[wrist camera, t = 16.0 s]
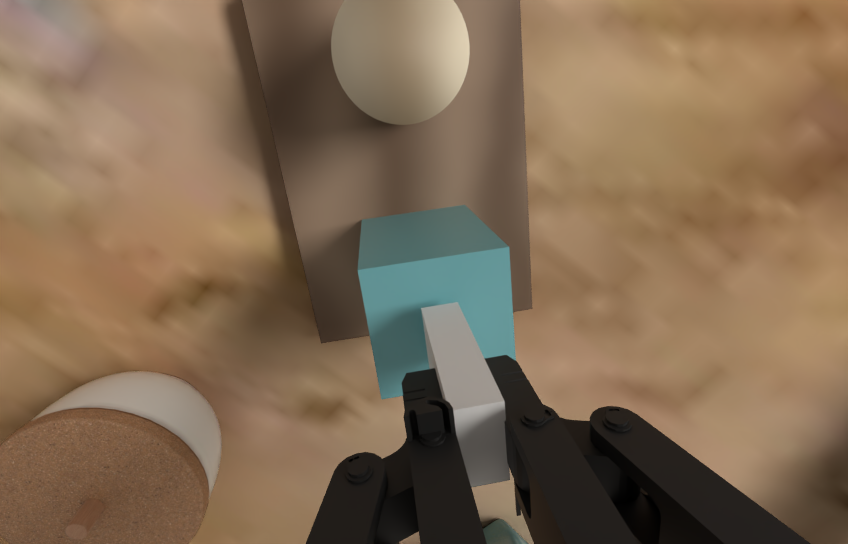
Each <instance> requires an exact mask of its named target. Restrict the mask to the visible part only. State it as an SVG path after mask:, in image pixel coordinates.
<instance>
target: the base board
mask: <svg viewBox="0 0 848 544" xmlns="http://www.w3.org/2000/svg"><path fill="white" fill-rule="evenodd" d="M343 2H344V0H242V3H243V7H244V12H245V16H246V20H247V25H248V29H249V33H250V37H251V42H252V46H253V50H254V55H255V59H256V63H257V68H258V72H259V76H260V81H261V85H262V89H263V94H264V98H265V102H266V107H267V111H268V115H269V120H270V124H271V128H272V133H273V137H274V141H275V146H276V150H277V154H278V158H279V163H280V167H281V171H282V176H283V180H284V184H285V189H286V193H287V197H288V202H289V206H290V210H291V215H292V219H293V223H294V228H295V232H296V236H297V241H298V245H299V249H300V254H301V258H302V262H303V267H304V271H305V275H306V279H307V284H308V288H309V292H310V297H311V301H312V305H313V310H314V314H315V318H316V323H317V327H318V331H319V336H320V340H321V343H326V342H332V341H338V340H344V339H350V338H356V337H362V336H369V335H370V334H369V329H368V323H367V318H366V313H365V307H364V302H363V297H362V291H361V286H360V280H359V275H358V259H359V247H360V235H361V223H362V220H363V219H370V218H377V217H384V216H391V215H398V214H405V213H411V212H418V211H425V210H432V209H439V208H446V207H453V206H459V205H466V206H467V207H468V208H469V209H470V210H471V211H472V212H473V213H474V214H475V215H476V216H477V217H478V218H479V219H480V220H481V221H482V222H484V223H485V224H486V225H487V226H488V227H489V228H490V229H491V230H492V231H493V232H494V233H495V234H496V235H497V236H498V237H499V238H500V239H501V240H502V241H504V242H505V243H506V244H507V245H508V246H509V252H510V270H511V288H512V305H513V312H515V311H522V310H528V309H532V292H531V267H530V242H529V217H528V191H527V166H526V141H525V116H524V91H523V65H522V40H521V15H520V0H454V2H455V3H456V5H457V6H458V8H459V10H460V12H461V14H462V16H463V19H464V21H465V24H466V27H467V31H468V37H469V46H470V55H469V64H468V69H467V73H466V76H465V79H464V82H463V84H462V86H461V88H460V90H459V92H458V93H457V95H456V96H455V98H454V99H453V100H452V101H451V103H450V104H449V105H448V106H447V107H446V108H445V109H444V110H442V111H441V112H440V113H438V114H437V115H435V116H434V117H432V118H430V119H428V120H425V121H422V122H420V123H415V124H409V125H397V124H390V123H385V122H383V121H380V120H377V119H375V118H373V117H371V116H369V115H368V114H366V113H365V112H363V111H362V110H361V109H360V108H358V107H357V106H356V105H355V104H354V103H353V102H352V100H351V99H350V98H349V97H348V96H347V94H346V93H345V91H344V90H343V88H342V86H341V84H340V82H339V80H338V78H337V75H336V72H335V69H334V65H333V61H332V53H331V37H332V30H333V26H334V22H335V18H336V16H337V13H338V11H339V9H340V7H341V5H342V3H343Z"/></svg>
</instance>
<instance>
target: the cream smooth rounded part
mask: <svg viewBox="0 0 848 544" xmlns="http://www.w3.org/2000/svg"><path fill="white" fill-rule="evenodd" d="M331 53H332V61H333V65H334V69H335V72H336V75H337V78H338V80H339V82H340V84H341V86H342V88H343V90H344V91H345V93H346V94H347V96H348V97H349V98H350V99H351V100H352V102H353V103H354V104H355V105H356V106H357V107H358V108H360V109H361V110H362V111H363V112H365V113H366V114H368V115H369V116H371V117H373V118H375V119H377V120H380V121H383V122H385V123H390V124H397V125H409V124H415V123H420V122H422V121H425V120H428V119H430V118H432V117H434V116H435V115H437V114H438V113H440V112H441V111H442V110H444V109H445V108H446V107H447V106H448V105H449V104H450V103H451V101H452V100H453V99H454V98H455V96H456V95H457V93H458V92H459V90H460V88H461V86H462V84H463V82H464V79H465V76H466V73H467V69H468V64H469V55H470V46H469V37H468V31H467V27H466V24H465V21H464V19H463V16H462V14H461V12H460V10H459V8H458V6H457V5H456V3H455V2H454V0H344V2H343V3H342V5H341V7H340V9H339V11H338V13H337V16H336V18H335V22H334V26H333V30H332V37H331Z"/></svg>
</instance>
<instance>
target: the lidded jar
mask: <svg viewBox="0 0 848 544" xmlns="http://www.w3.org/2000/svg"><path fill="white" fill-rule="evenodd" d="M221 450H222V439H221V430H220V425H219V422H218V419H217V417H216V414H215V413H214V411H213V409H212V407H211V405H210V404H209V402H208V401H207V400H206V398H205V397H204V396H203V395H202V394H201V393H200V392H199V391H197V390H196V389H195V388H194V387H193V386H192V385H190V384H189V383H188V382H186V381H184V380H182V379H180V378H177V377H175V376H171V375H167V374H162V373H158V372H150V371H129V372H122V373H116V374H112V375H108V376H105V377H101V378H98V379H95V380H93V381H91V382H88V383H86V384H84V385H82V386H80V387H78V388H76V389H74V390H72V391H71V392H69V393H68V394H66V395H64V396H63V397H61V398H60V399H58V400H57V401H55V402H54V403H52V404H51V405H49V406H48V407H47V408H45V409H44V410H43V411H42V412H41V413H39V414H38V415H37V416H36V417H35V418H33V419H32V420H31V421H30V422H29V423H27V424H26V425H24V426H23V427H21V428H20V429H18V430H17V431H15V432H14V433H13V434H12V435H11V436H10V437H8V438H7V439H6V440H5V441H4V442H3V443H2V444H1V445H0V535H1V536H2V537H3V538H4V539H5V540H6V541H8V542H9V543H10V544H188V543H189V542H190V541H191V540H192V539H193V537H194V536H195V534H196V533H197V531H198V529H199V527H200V525H201V523H202V521H203V518H204V515H205V512H206V509H207V506H208V501H209V498H210V496H211V493H212V490H213V487H214V484H215V481H216V478H217V475H218V470H219V466H220V459H221Z"/></svg>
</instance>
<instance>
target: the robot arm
mask: <svg viewBox="0 0 848 544" xmlns="http://www.w3.org/2000/svg"><path fill="white" fill-rule="evenodd" d="M421 311H422V318H423V326H424V333H425V340H426V348H427V355H428V362H429V368H430V369H427V370H421V371H415V372H409V373H406V375H405V377H404V379H403V381H402V391H403V400H404V408H405V413H404V422H405V428H406V434H407V439H406V441H405V443H404V444H403V446H402V447H401V448H400V449H399V450H397V451H396V452H395V453H393V454H391V455H389V456H387V457H385V458H383V459H381V457H379V456H377V455H376V454H374V453H367V452H364V453H357V454H354V455H352V456H349V457H347V458H346V459H344V460H343V461H342V462H341V463H340V464H339V465H338V466H337V468H336V469H335V471H334V473H333V476H332V478H331V481H330V483H329V486H328V488H327V491H326V494H325V496H324V499H323V501H322V504H321V506H320V509H319V511H318V514H317V516H316V519H315V522H314V524H313V527H312V529H311V532H310V534H309V537H308V539H307V542H306V544H399V542H400V541H402V540H403V539H405V538H407V537H409V536H411V535H412V534H414V533H416V532H418V531H419V535H420V544H487V543H486V539H485V536H484V532H483V528H482V525H481V521H480V518H479V514H478V510H477V507H476V503H475V500H474V496H473V492H472V489H471V487H476V486H481V485H486V484H491V483H496V482H502V481H507V480H510V473H509V468H510V470H511V473H512V475H513V478H514V485H515V501H516V512H517V516H519V515H521V511H522V513H523V516H524V518H525V521H526V524H527V526H528V529H529V532H530V534H531V537H532V539H533V542H534V544H810V543H809V542H808V541H806V540H805V539H804V538H802V537H801V536H800V535H798V534H797V533H796V532H794V531H793V530H791V529H790V528H789V527H787V526H786V525H785V524H783V523H782V522H781V521H779V520H778V519H777V518H775V517H774V516H773V515H771V514H770V513H769V512H767V511H766V510H765V509H763V508H762V507H761V506H759V505H758V504H757V503H755V502H754V501H753V500H751V499H750V498H748V497H747V496H746V495H744V494H743V493H742V492H740V491H739V490H738V489H736V488H735V487H734V486H732V485H731V484H730V483H728V482H727V481H726V480H724V479H723V478H722V477H720V476H719V475H718V474H716V473H715V472H714V471H712V470H711V469H710V468H708V467H707V466H705V465H704V464H703V463H701V462H700V461H699V460H697V459H696V458H695V457H693V456H692V455H691V454H689V453H688V452H687V451H685V450H684V449H683V448H681V447H680V446H679V445H677V444H676V443H675V442H673V441H672V440H671V439H669V438H668V437H666V436H665V435H664V434H662V433H661V432H660V431H658V430H657V429H656V428H654V427H653V426H652V425H650V424H649V423H648V422H646V421H645V420H644V419H642V418H641V417H640V416H638V415H637V414H635V413H633V412H632V411H630V410H628V409H624V408H621V407H613V406H607V407H602V408H598V409H597V410H595V411H594V412H593V413H592V415H591V417H590V421H578V420H568V419H563V418H560V417H559V416H558V414H557V413H556V412H555V411H554V410H553V409H552V408H550V407H548V406H545V405H543V404H542V403H541V401H540V399H539V398H538V396H537V394H536V393H535V391H534V389H533V388H532V386H531V384H530V383H529V381H528V380H527V378H526V376H525V374H524V373H523V372H522V369H521V368H520V366H519V364H518V363H517V361H515V360H514V359H512V358H511V357H509V356H508V355H502V356H496V357H490V358H485V359H484V357H483V355H482V352H481V350H480V348H479V346H478V344H477V342H476V340H475V338H474V336H473V333H472V331H471V329H470V327H469V325H468V323H467V321H466V319H465V317H464V314H463V312H462V310H461V308H460V306H459V304H458V302H455V303H449V304H442V305H436V306H430V307H424V308H421ZM520 508H521V509H520Z"/></svg>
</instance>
